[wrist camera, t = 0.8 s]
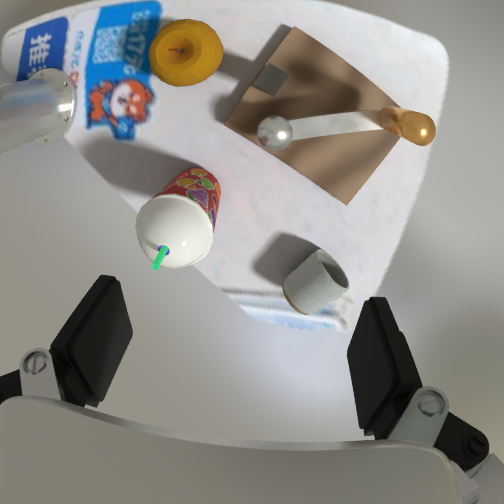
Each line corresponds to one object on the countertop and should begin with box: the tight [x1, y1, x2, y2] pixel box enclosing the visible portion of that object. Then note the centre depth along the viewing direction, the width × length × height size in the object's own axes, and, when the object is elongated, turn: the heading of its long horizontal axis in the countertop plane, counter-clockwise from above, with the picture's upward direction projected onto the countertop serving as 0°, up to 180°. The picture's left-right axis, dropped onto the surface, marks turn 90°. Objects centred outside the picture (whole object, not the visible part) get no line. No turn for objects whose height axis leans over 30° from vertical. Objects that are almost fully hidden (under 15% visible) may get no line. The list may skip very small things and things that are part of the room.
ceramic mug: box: [283, 249, 349, 315], centre depth 46 cm, size 11×8×8 cm
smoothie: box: [136, 168, 221, 270], centre depth 34 cm, size 8×8×20 cm
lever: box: [257, 106, 436, 151], centre depth 29 cm, size 18×4×10 cm, turn 102°
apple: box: [149, 19, 223, 87], centre depth 29 cm, size 9×8×9 cm
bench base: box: [224, 26, 401, 206], centre depth 33 cm, size 20×16×7 cm
